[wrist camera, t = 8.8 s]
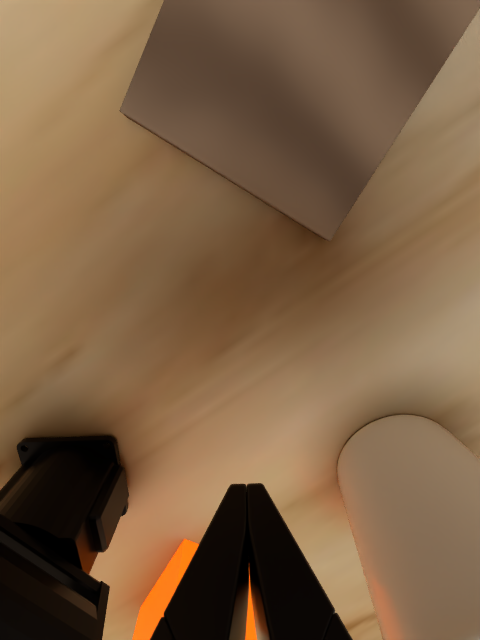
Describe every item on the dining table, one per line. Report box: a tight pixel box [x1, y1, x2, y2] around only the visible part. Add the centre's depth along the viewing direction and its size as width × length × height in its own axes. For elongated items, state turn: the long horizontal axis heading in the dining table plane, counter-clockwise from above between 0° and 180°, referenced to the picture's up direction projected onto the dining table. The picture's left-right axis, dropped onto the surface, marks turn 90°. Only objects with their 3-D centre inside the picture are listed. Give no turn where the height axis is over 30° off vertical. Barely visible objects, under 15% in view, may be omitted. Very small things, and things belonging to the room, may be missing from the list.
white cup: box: [337, 415, 480, 640], centre depth 17 cm, size 10×10×12 cm
